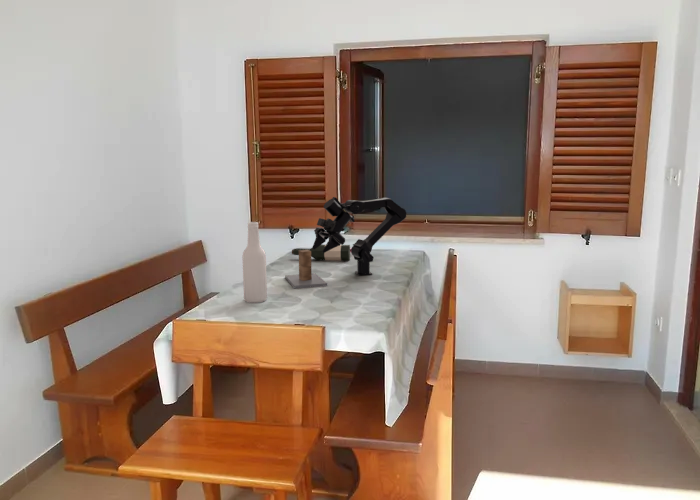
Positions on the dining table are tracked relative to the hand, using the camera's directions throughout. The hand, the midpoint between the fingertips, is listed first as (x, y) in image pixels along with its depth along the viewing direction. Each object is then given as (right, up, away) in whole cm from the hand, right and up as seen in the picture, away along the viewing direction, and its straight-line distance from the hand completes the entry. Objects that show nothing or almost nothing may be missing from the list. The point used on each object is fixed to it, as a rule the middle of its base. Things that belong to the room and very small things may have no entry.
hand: (317, 250), depth 248 cm
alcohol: (-22, -19, -30) cm, 42 cm away
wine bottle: (+14, -1, +45) cm, 47 cm away
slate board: (-5, -14, -1) cm, 15 cm away
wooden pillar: (-5, -12, -1) cm, 14 cm away
